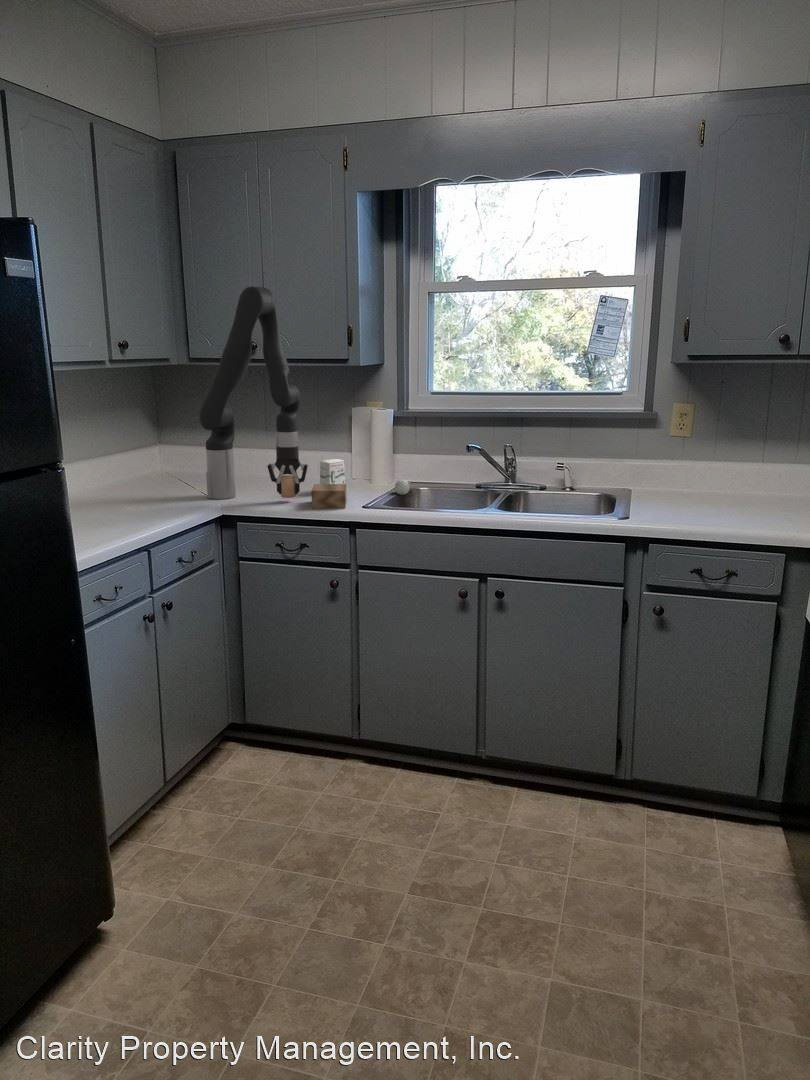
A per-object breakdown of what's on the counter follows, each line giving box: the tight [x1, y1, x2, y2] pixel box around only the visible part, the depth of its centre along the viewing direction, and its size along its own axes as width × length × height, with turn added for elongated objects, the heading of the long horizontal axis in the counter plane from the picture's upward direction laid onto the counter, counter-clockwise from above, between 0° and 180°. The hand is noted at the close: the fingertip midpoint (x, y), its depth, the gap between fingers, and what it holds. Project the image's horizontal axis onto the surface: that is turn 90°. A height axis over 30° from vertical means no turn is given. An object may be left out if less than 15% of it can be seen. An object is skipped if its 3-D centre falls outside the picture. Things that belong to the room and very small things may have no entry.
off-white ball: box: [394, 478, 410, 496], centre depth 288 cm, size 5×5×5 cm
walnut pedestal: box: [310, 483, 348, 510], centre depth 269 cm, size 11×12×6 cm
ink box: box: [319, 458, 346, 484], centre depth 289 cm, size 9×5×12 cm, turn 143°
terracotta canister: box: [280, 474, 297, 499], centre depth 274 cm, size 5×5×7 cm
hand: (288, 493), depth 274 cm, fingers closed on terracotta canister, 5 cm apart
